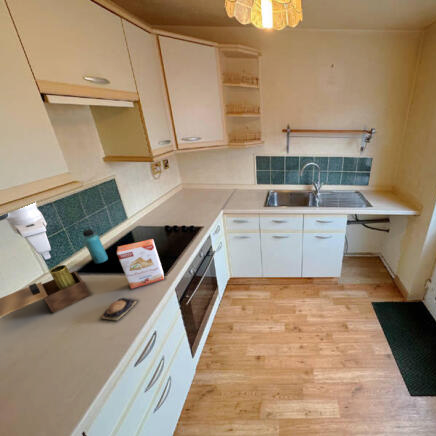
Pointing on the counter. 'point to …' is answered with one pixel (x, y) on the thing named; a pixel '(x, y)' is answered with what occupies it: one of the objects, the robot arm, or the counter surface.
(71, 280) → the vase
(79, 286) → the box
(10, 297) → the lid
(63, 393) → the counter surface
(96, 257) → the beverage bottle
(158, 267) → the cracker box
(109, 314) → the brown oval piece
